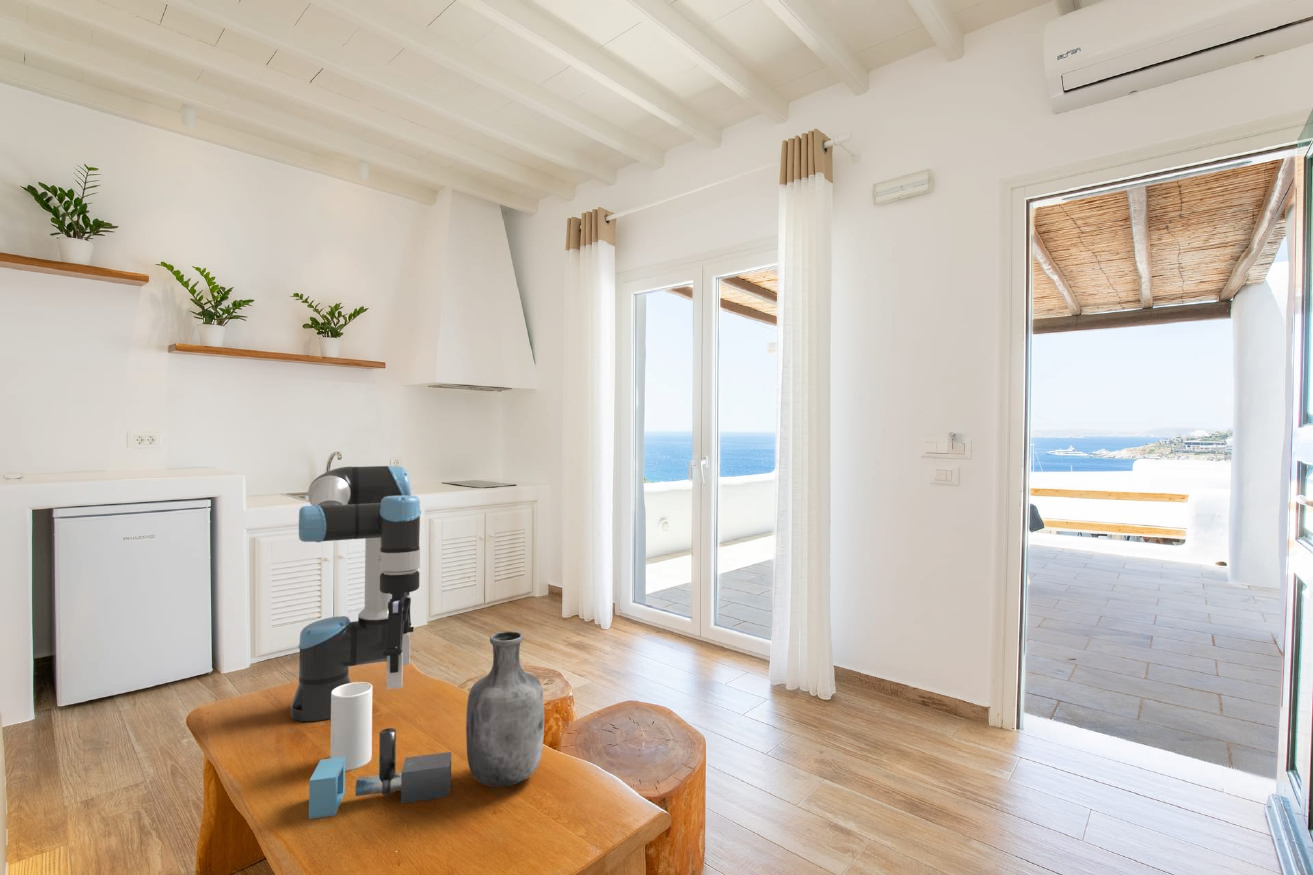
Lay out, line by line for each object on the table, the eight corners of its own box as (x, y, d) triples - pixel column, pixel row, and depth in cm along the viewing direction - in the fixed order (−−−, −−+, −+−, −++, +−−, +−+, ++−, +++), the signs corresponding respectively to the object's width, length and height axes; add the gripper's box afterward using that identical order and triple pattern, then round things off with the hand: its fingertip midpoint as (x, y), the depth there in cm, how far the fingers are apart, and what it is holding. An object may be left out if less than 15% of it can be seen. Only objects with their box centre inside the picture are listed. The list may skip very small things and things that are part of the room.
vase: (473, 808, 117) (475, 653, 117) (459, 769, 131) (460, 630, 132) (553, 787, 124) (554, 641, 125) (531, 752, 139) (532, 621, 139)
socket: (344, 792, 122) (345, 756, 122) (335, 815, 115) (335, 776, 115) (320, 795, 121) (320, 759, 121) (308, 818, 113) (309, 780, 114)
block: (451, 780, 127) (451, 751, 127) (449, 796, 121) (449, 766, 121) (405, 786, 124) (405, 757, 124) (401, 803, 119) (401, 772, 119)
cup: (354, 772, 130) (355, 697, 130) (321, 768, 131) (322, 694, 132) (379, 753, 138) (380, 683, 138) (348, 750, 139) (348, 680, 140)
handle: (449, 779, 126) (450, 720, 126) (448, 789, 122) (449, 729, 122) (359, 791, 121) (359, 730, 121) (354, 802, 117) (355, 739, 118)
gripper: (388, 562, 135) (387, 658, 134) (369, 584, 111) (368, 701, 110) (424, 560, 137) (423, 654, 136) (413, 582, 113) (412, 696, 112)
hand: (398, 675), depth 123 cm, fingers open, 13 cm apart
